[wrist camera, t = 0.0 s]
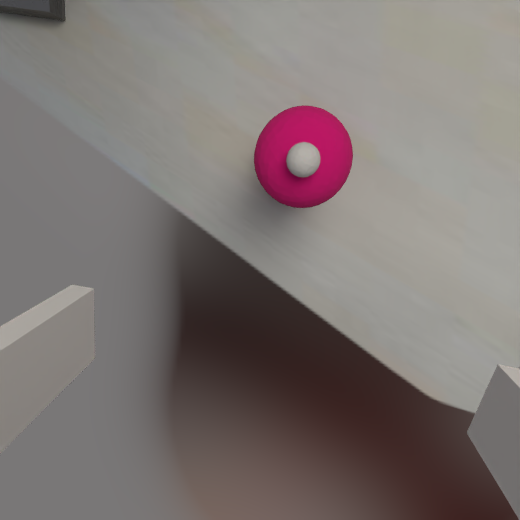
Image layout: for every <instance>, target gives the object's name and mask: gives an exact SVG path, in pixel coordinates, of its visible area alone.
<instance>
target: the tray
mask: <svg viewBox="0 0 520 520" xmlns="http://www.w3.org/2000/svg"><path fill="white" fill-rule="evenodd" d="M0 12H6V13H13V14H20V15H27V16H34V17H42V18H49V19H56V20H63V21H65V4H64V0H0Z"/></svg>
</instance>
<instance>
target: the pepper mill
mask: <svg viewBox="0 0 520 520" xmlns="http://www.w3.org/2000/svg"><path fill="white" fill-rule="evenodd" d="M352 159H353V152H352V144H351V140H350V137H349V135H348V133H347V131H346V129H345V128H344V126H343V124H342V123H341V122H340V121H339V120H338V119H337V118H336V117H335V116H334V115H332V114H331V113H329V112H327V111H326V110H324V109H321V108H317V107H313V106H297V107H292V108H289V109H287V110H284V111H283V112H281V113H279V114H278V115H276V116H275V117H274V118H273V119H272V120H270V122H269V123H268V124H267V125H266V126H265V128H264V129H263V131H262V132H261V134H260V136H259V138H258V141H257V144H256V148H255V153H254V164H255V170H256V174H257V177H258V179H259V181H260V183H261V185H262V186H263V188H264V189H265V191H266V192H267V193H268V194H269V195H270V196H271V197H272V198H274V199H275V200H277V201H278V202H280V203H282V204H285V205H287V206H291V207H296V208H307V207H313V206H316V205H319V204H321V203H323V202H326V201H327V200H329V199H330V198H331V197H333V196H334V195H335V194H336V193H337V192H338V191H339V190H340V189H341V187H342V186H343V184H344V183H345V182H346V180H347V177H348V175H349V173H350V169H351V166H352Z"/></svg>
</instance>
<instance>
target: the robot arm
mask: <svg viewBox="0 0 520 520" xmlns="http://www.w3.org/2000/svg"><path fill="white" fill-rule="evenodd" d="M94 359H95V321H94V289H93V288H88V287H82V286H77V285H71V286H69V287H67V288H65V289H64V290H62V291H60V292H59V293H57V294H56V295H53V296H52V297H50V298H48V299H47V300H45V301H43V302H41V303H40V304H38V305H36V306H35V307H33V308H31V309H29V310H28V311H26V312H24V313H23V314H21V315H19V316H17V317H16V318H14V319H12V320H11V321H9V322H7V323H5V324H3V325H2V326H0V454H1V453H2V452H3V451H4V450H5V449H6V448H7V447H8V446H9V445H10V444H11V443H12V442H13V441H14V439H16V438H17V436H19V435H20V434H21V433H22V431H24V430H25V429H26V427H28V426H29V425H30V423H31V422H33V420H34V419H35V418H36V417H37V416H38V415H39V414H40V413H41V412H42V411H43V410H44V409H45V408H46V407H47V406H48V405H49V404H50V403H51V402H52V401H53V400H54V399H55V398H56V397H57V396H58V395H59V394H60V393H61V392H62V391H63V390H64V389H65V388H66V387H67V386H68V385H69V384H70V383H71V382H72V381H73V380H74V379H75V378H76V377H77V376H78V375H79V374H80V373H81V372H82V371H83V370H84V369H85V368H86V367H87V366H88V365H89V364H90V363H91V362H92V361H93V360H94ZM467 434H468V435H469V437H470V439H471V440H472V442H473V444H474V445H475V447H476V449H477V450H478V452H479V454H480V455H481V457H482V459H483V460H484V462H485V464H486V465H487V467H488V469H489V470H490V472H491V473H492V475H493V477H494V478H495V480H496V482H497V484H498V485H499V487H500V489H501V490H502V492H503V493H504V495H505V497H506V498H507V500H508V502H509V503H510V505H511V507H512V508H513V510H514V512H515V513H516V515H517V517H518V518H519V520H520V369H519V368H514V367H508V366H503V365H497V367H496V370H495V372H494V374H493V376H492V378H491V381H490V383H489V385H488V387H487V389H486V392H485V394H484V396H483V398H482V400H481V403H480V405H479V407H478V409H477V411H476V414H475V416H474V418H473V420H472V423H471V425H470V427H469V429H468V431H467Z"/></svg>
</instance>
